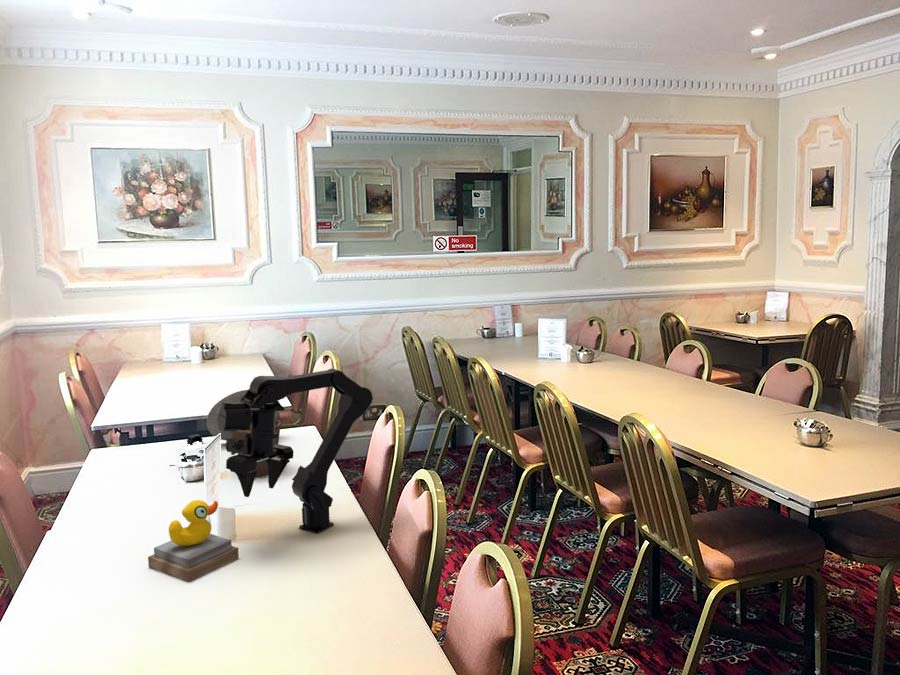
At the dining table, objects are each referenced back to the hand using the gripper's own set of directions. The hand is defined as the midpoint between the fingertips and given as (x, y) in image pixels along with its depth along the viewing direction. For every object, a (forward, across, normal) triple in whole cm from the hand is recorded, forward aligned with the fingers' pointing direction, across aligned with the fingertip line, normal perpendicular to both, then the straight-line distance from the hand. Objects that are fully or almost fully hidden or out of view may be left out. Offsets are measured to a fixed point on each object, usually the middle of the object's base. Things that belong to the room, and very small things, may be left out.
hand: (259, 492), depth 184 cm
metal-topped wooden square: (+14, +14, -6) cm, 21 cm away
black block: (+12, -58, -74) cm, 94 cm away
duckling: (+10, +14, -6) cm, 19 cm away
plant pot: (+10, -42, -33) cm, 55 cm away
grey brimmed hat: (+10, -65, -57) cm, 87 cm away
